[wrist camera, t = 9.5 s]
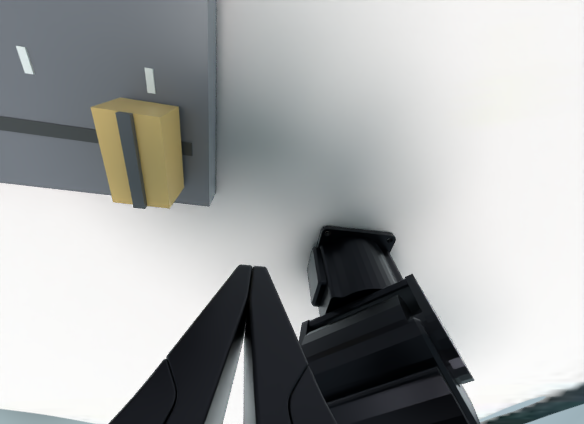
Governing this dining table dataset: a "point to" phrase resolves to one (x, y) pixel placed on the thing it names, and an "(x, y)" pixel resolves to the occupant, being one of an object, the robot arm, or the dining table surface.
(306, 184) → the dining table surface
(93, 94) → the mixing board
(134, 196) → the amber fader
